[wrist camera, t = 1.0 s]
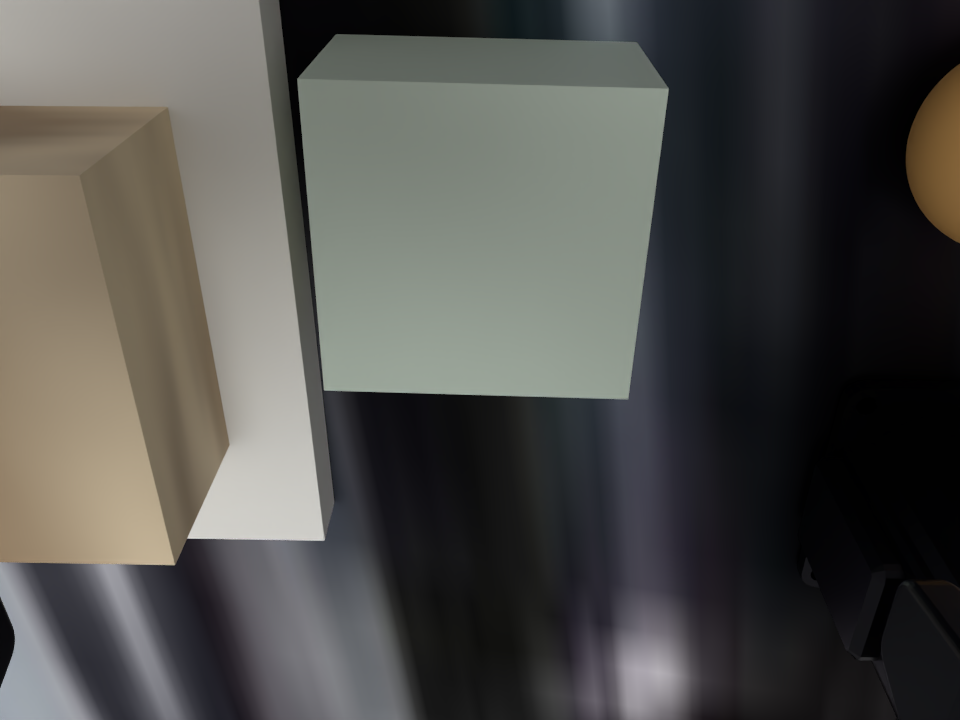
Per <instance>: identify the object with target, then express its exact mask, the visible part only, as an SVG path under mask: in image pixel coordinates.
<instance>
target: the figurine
mask: <svg viewBox="0 0 960 720" xmlns="http://www.w3.org/2000/svg"><path fill="white" fill-rule="evenodd" d="M906 171H907V177H908V182H909V185H910V189H911V191H912V194H913V196H914V199H915V201H916V202H917V204H918V206H919V208H920V209H921V211H922V212H923V213H924V215H925V216H926V217H927V218H928V220H929V221H930V222H931V223H932V224H933V225H934V226H935V227H936V228H937V229H939V230H940V231H941V232H942V233H944V234H945V235H946V236H948V237H949V238H951V239H953V240H954V241H956V242H958V243H960V64H959V65H957V66H956V67H955V68H954V69H952V70H951V71H950V72H949V73H948V74H947V75H945V76H944V77H943V78H942V79H941V80H940V81H939V82H938V84H937V85H936V86H935V87H934V88H933V89H932V91H931V92H930V93H929V94H928V96H927V97H926V99H925V100H924V102H923V103H922V105H921V107H920V108H919V110H918V112H917V114H916V116H915V119H914V121H913V124H912V126H911V129H910V133H909V137H908V141H907V148H906Z"/></svg>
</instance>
